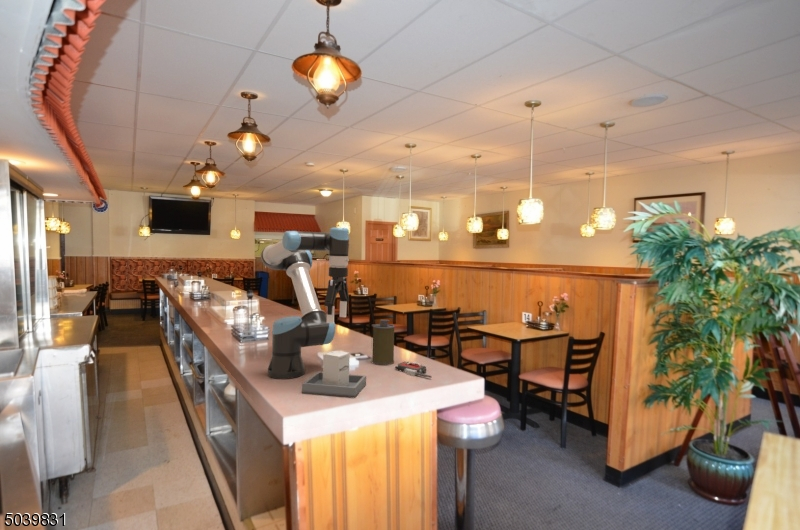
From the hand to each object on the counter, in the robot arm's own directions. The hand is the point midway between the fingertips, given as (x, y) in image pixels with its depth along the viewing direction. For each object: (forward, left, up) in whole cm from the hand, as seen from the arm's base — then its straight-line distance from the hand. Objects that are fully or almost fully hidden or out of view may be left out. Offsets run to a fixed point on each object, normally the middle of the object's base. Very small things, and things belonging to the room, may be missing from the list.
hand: (336, 320), depth 163 cm
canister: (+12, +32, -25) cm, 42 cm away
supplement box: (+3, -9, -24) cm, 26 cm away
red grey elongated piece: (+30, +19, -25) cm, 43 cm away
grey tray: (+3, -9, -24) cm, 26 cm away
